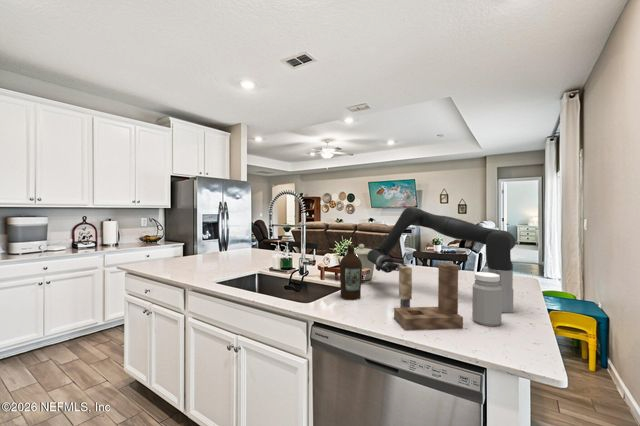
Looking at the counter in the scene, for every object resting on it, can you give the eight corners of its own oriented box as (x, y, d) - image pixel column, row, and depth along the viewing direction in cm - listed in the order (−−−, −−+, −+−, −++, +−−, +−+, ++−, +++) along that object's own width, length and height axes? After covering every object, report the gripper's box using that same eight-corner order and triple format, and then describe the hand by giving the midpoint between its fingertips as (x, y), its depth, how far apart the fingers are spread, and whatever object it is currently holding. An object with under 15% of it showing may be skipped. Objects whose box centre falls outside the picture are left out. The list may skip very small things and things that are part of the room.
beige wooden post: (407, 308, 131) (408, 266, 131) (411, 311, 127) (411, 267, 127) (398, 308, 131) (399, 266, 131) (402, 311, 127) (402, 268, 127)
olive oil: (337, 294, 152) (337, 243, 152) (358, 293, 154) (358, 243, 154) (342, 300, 142) (342, 246, 142) (364, 299, 143) (364, 246, 143)
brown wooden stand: (447, 316, 121) (447, 261, 121) (464, 328, 109) (464, 267, 109) (394, 318, 119) (394, 262, 119) (405, 330, 108) (405, 268, 107)
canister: (340, 277, 191) (341, 243, 191) (365, 274, 199) (365, 242, 199) (356, 283, 175) (356, 246, 175) (382, 280, 183) (382, 245, 182)
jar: (475, 315, 123) (475, 270, 122) (503, 321, 116) (504, 273, 116) (468, 322, 115) (469, 274, 115) (498, 329, 109) (499, 278, 109)
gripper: (371, 256, 156) (380, 262, 140) (399, 256, 157) (411, 262, 141) (371, 270, 156) (380, 278, 140) (398, 270, 157) (410, 278, 141)
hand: (395, 270), depth 140 cm, fingers open, 8 cm apart
